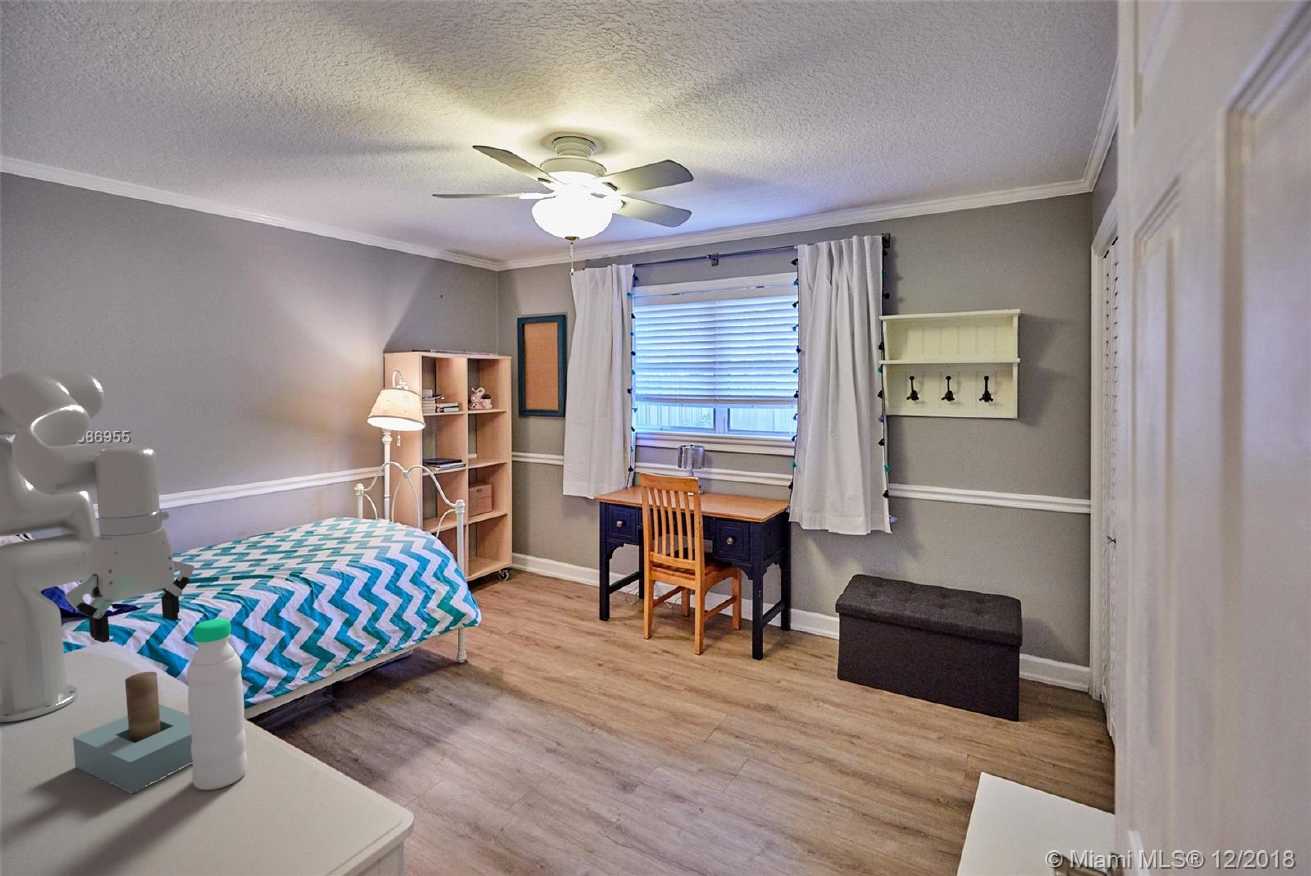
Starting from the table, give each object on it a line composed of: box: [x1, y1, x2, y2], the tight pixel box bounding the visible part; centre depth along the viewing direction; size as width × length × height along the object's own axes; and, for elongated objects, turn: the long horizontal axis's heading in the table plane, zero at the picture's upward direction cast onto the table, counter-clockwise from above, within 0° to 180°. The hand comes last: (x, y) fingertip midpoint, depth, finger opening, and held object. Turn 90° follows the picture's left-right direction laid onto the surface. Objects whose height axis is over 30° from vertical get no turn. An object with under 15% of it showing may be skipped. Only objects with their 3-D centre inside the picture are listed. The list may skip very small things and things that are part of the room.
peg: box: [124, 671, 161, 743], centre depth 105 cm, size 4×4×14 cm
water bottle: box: [186, 618, 248, 791], centre depth 99 cm, size 7×7×25 cm
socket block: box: [72, 703, 193, 794], centre depth 105 cm, size 16×12×5 cm
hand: (137, 629), depth 103 cm, fingers open, 9 cm apart
